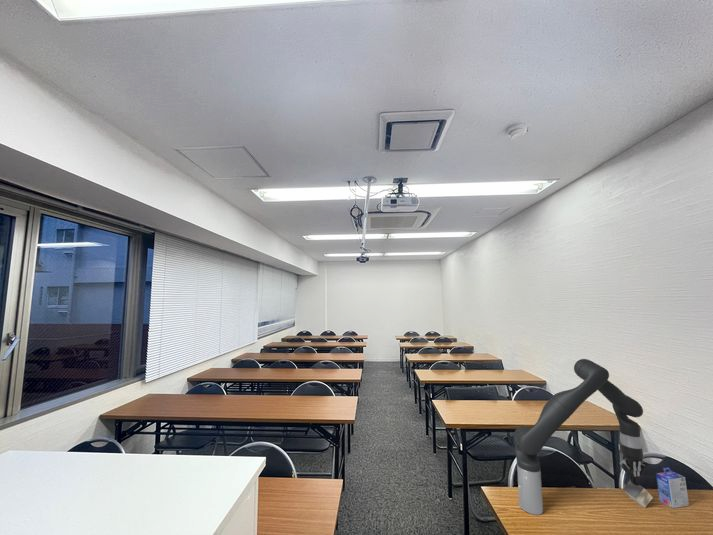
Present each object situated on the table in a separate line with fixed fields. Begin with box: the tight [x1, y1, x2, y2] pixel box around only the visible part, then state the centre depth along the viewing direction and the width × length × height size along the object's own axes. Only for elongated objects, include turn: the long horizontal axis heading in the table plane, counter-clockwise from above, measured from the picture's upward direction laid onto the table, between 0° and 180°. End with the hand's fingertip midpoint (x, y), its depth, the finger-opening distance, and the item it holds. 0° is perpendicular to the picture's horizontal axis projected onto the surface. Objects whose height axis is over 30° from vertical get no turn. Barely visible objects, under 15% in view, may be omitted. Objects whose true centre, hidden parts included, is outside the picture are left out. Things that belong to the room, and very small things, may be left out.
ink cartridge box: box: [655, 466, 690, 509], centre depth 135 cm, size 10×6×14 cm, turn 101°
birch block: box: [622, 479, 654, 509], centre depth 134 cm, size 6×6×6 cm
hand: (635, 483), depth 135 cm, fingers closed
